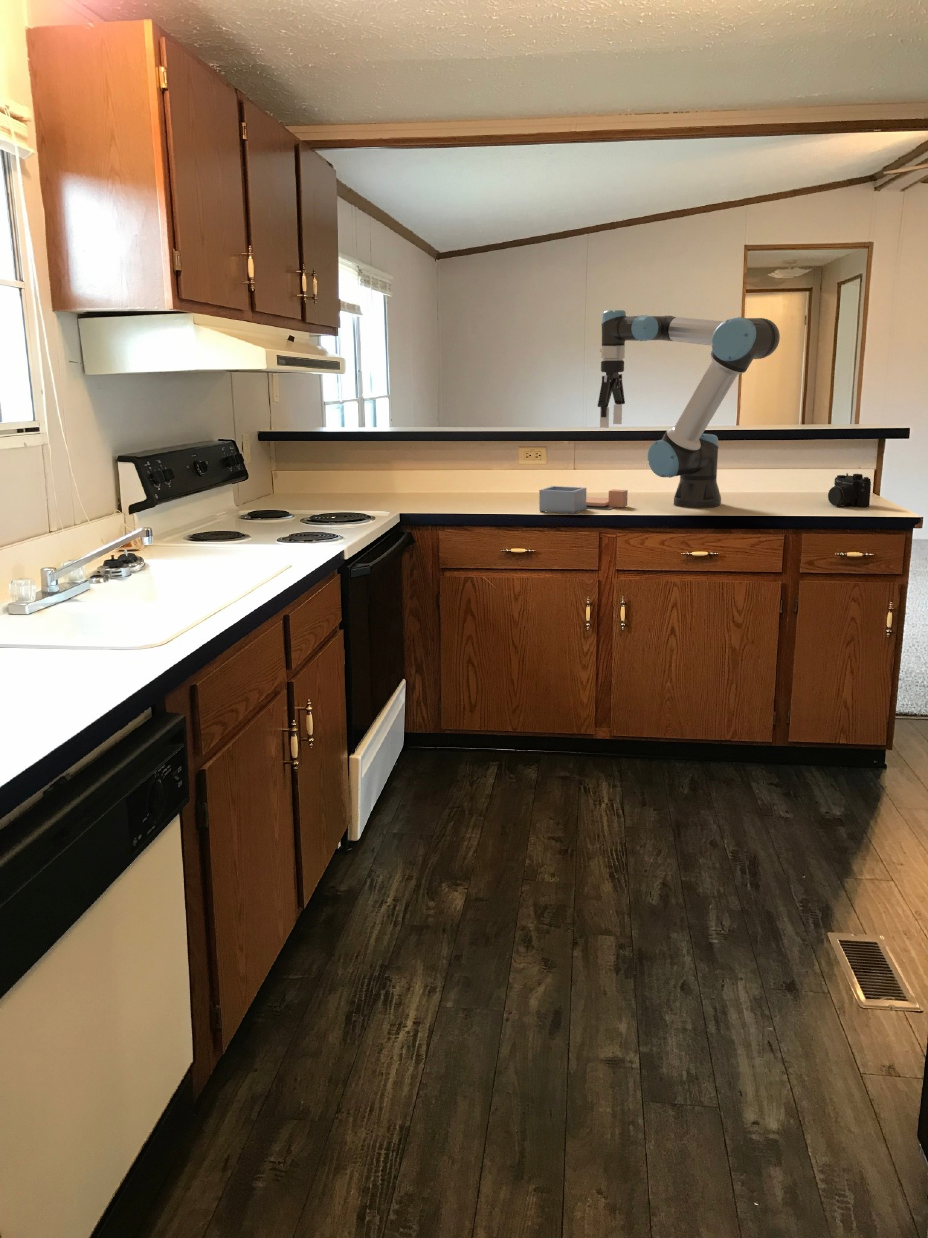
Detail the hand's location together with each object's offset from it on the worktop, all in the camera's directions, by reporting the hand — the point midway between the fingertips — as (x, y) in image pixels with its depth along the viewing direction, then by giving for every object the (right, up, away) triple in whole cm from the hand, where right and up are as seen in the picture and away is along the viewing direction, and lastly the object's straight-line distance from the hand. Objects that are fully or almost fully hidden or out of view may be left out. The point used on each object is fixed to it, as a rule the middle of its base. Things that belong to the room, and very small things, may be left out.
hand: (610, 425), depth 329 cm
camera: (+73, -28, -12) cm, 79 cm away
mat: (-6, -27, -1) cm, 27 cm away
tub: (-17, -29, -10) cm, 35 cm away
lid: (-4, -27, -2) cm, 27 cm away
